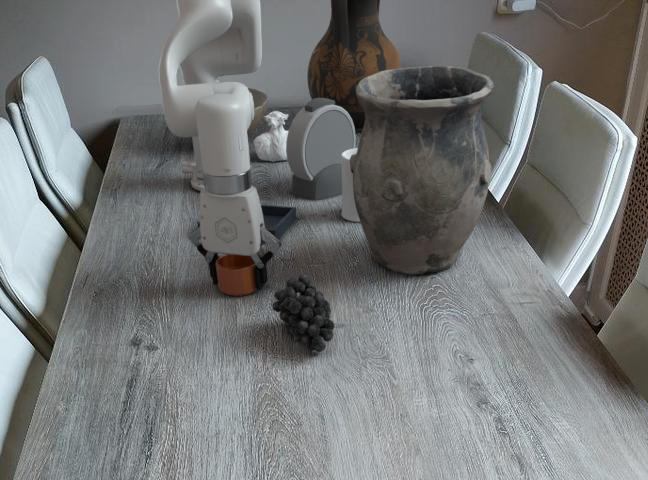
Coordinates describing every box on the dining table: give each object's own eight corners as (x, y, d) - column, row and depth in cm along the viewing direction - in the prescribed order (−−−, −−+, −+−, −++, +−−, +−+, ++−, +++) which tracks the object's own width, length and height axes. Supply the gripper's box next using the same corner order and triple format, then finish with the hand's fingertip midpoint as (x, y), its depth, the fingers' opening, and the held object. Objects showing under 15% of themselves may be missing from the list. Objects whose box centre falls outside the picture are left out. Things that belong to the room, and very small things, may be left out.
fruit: (333, 304, 113) (308, 259, 124) (280, 329, 113) (260, 282, 124) (352, 351, 118) (327, 304, 129) (301, 375, 119) (281, 326, 130)
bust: (304, 164, 194) (298, 118, 194) (306, 152, 187) (300, 104, 186) (255, 169, 193) (249, 122, 193) (256, 157, 186) (249, 108, 185)
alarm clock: (333, 174, 182) (330, 87, 170) (365, 184, 176) (364, 95, 165) (280, 193, 174) (273, 103, 162) (312, 204, 168) (308, 112, 156)
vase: (403, 136, 203) (407, -26, 180) (307, 138, 203) (300, -22, 181) (398, 109, 221) (401, -40, 199) (310, 112, 222) (304, -36, 200)
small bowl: (212, 295, 136) (208, 267, 133) (229, 276, 142) (225, 250, 139) (251, 299, 135) (248, 272, 131) (267, 281, 140) (264, 254, 137)
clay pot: (329, 256, 147) (323, 79, 128) (422, 224, 157) (430, 56, 138) (408, 298, 133) (415, 107, 114) (505, 261, 143) (526, 79, 124)
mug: (396, 204, 166) (397, 145, 158) (401, 220, 160) (403, 158, 152) (339, 207, 166) (338, 148, 158) (343, 223, 159) (341, 162, 152)
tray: (198, 234, 157) (197, 223, 155) (223, 212, 166) (222, 200, 164) (275, 242, 153) (274, 230, 151) (296, 219, 162) (295, 207, 160)
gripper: (168, 184, 126) (184, 288, 137) (270, 193, 122) (279, 299, 133) (188, 169, 131) (202, 269, 143) (287, 176, 127) (294, 280, 138)
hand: (239, 283), depth 138 cm, fingers closed on small bowl, 7 cm apart
